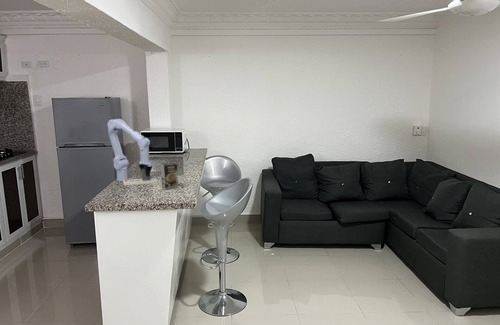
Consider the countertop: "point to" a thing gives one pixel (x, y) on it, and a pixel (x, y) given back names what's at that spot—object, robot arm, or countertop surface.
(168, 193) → the countertop surface
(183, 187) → the countertop surface
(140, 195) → the countertop surface
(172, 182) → the coffee box
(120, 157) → the robot arm
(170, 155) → the countertop surface
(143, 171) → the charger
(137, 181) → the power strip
